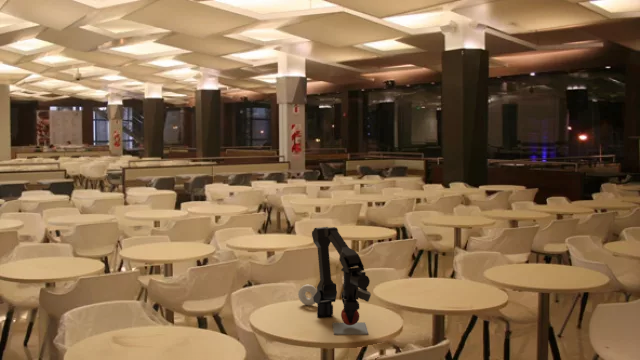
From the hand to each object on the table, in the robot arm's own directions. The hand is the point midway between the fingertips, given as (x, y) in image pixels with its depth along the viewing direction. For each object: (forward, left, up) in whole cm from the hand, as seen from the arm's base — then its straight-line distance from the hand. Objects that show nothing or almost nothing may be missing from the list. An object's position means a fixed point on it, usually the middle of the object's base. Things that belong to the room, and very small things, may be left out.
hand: (349, 319), depth 285 cm
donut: (-17, +35, -4) cm, 39 cm away
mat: (0, 0, -4) cm, 4 cm away
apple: (0, 0, -2) cm, 2 cm away
